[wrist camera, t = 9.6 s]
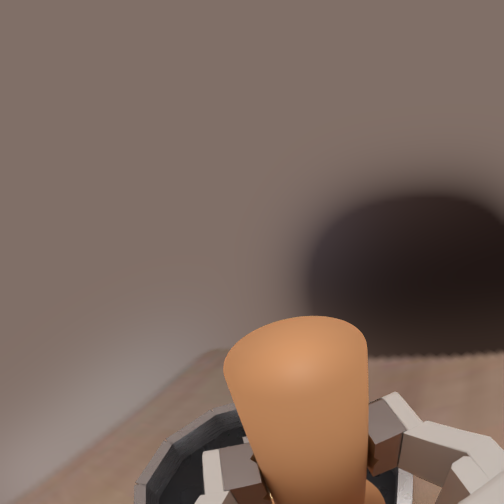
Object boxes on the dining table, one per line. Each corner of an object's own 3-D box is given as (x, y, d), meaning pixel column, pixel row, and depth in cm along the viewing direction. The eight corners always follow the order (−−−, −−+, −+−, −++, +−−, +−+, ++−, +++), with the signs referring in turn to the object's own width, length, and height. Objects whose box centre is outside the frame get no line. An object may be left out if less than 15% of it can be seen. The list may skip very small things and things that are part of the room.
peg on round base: (307, 594, 6) (240, 494, 3) (249, 520, 10) (160, 350, 8) (406, 527, 8) (457, 338, 5) (338, 470, 12) (315, 283, 9)
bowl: (166, 628, 8) (105, 610, 6) (155, 449, 27) (122, 398, 25) (451, 542, 11) (485, 501, 9) (343, 394, 30) (337, 336, 28)
